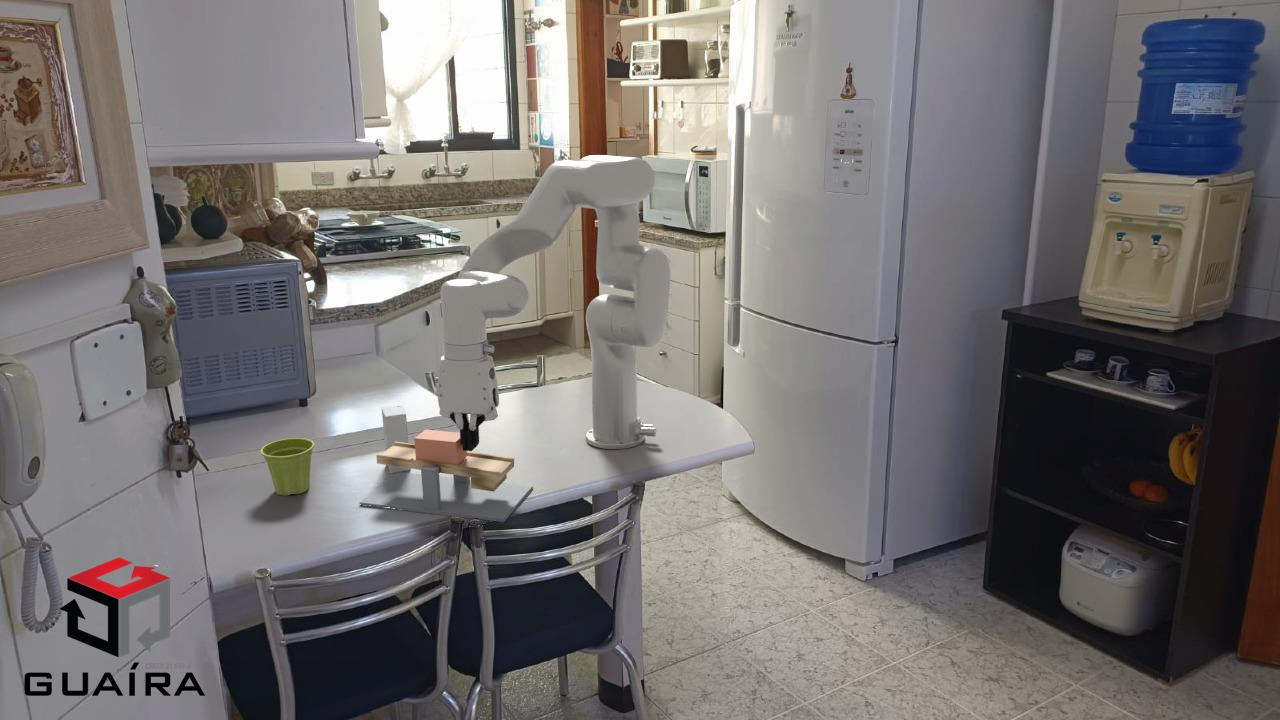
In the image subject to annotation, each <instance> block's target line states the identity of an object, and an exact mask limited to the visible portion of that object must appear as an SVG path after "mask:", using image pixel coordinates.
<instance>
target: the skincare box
mask: <svg viewBox="0 0 1280 720" xmlns="http://www.w3.org/2000/svg"><path fill="white" fill-rule="evenodd" d="M381 415H382V416H381V417H382V427H383V437H384V438H383V439H384V448H385V449H384V452H385V451H386V450H387V449H389V448H390V447H392V446H393V445H394V442H395V441H396V442H404V443H409V433H408V421H407V414H406V410H405V408H404V406H403V405H402V404H399V405H389V406H382V407H381ZM387 467H388V471H389V473H390V474H394V473H395V474H396V473H397V472H408V471H411V470H412V469H411V468H404V467H398V466H391V465H387Z"/></svg>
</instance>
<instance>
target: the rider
mask: <svg viewBox="0 0 1280 720" xmlns="http://www.w3.org/2000/svg"><path fill="white" fill-rule="evenodd" d="M413 438H414V439H413V440H414V444H415V455H416V459H417V460H424V461H431V462H438V463H445V464H452V465H458V464H459V463H460V462H461V461H462V460H464V459H465V458H466V457H467V450H466V451H463V446H462V444H461V442H460V432H458V431H457V432H456V431H455V432H454V431H444V430H434V429H424V430H423V431H422V432H421V433H418V435H417V436H415V437H413Z"/></svg>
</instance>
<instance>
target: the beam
mask: <svg viewBox="0 0 1280 720" xmlns="http://www.w3.org/2000/svg"><path fill="white" fill-rule="evenodd" d="M376 464H377V465H384V466H388V465H391V466H398V467H404V468H411V470H419V471H421V468H422V467H423V466H432V467H439V474H440V473H441V474H447V475H452V476H453V475H459V476H466V477H470V480H471V488H473V489H479V490H486V491H493V492H494V491H495V490H496V489H497V488H498V487H499V486H500V485H501V484H502V483H505V482H504V481H506V479H508V477H507V476H508V475H507V474H509V472H510V471H511V470H513V468H515V457H509V456H503V455H495V454H490V453H481V452H475V451H467V457H466V458H465V459H464V460H462V461H461V462H460V463H459V464H458V465H452V464H445V463H438V462H431V461H424V460H417V459H416V455H415V443H411V442H408V443H404V442H396V441H395V442H394V445H393V446H392V447H390V448H389V449H387V450H386V451H385V450H384V451H383V452H382V453H377V454H376Z"/></svg>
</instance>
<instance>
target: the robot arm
mask: <svg viewBox="0 0 1280 720" xmlns="http://www.w3.org/2000/svg"><path fill="white" fill-rule="evenodd" d="M654 185H655V173H654V170H653V167H652V166H651V165H650V164H649V163H648V161H647V160H645V159H643V158H640V157H637V156H636V157H634V156H620V155H618V156H617V155H607V154H605V155H604V154H602V155H601V154H595V155H594V154H592V155H587V156H584V157H582V158H581V159H579V160H559V161H555V162H553V163H551V164H550V165H549V166H548V167H547V168H546V170H545V171H544V172H543V174H542V176H541V178H540V179H539V180H538V182H537V184H536V185H535V187H534V188H533V190H532V192H531V193H530V194H529V196H528V198H527V200H526V201H525V203H524V204H523V206H522V208H521V209H520V210H519V212H518V213H517V215H516V217H514V218H513V219H512V221H509V222H508V223H507V224H505V225H504V226H502V227H501V228H499V229H498V230H497V231H495V232H494V233H492V234H491V235H489V236H488V237H487V238H485V239H484V240H483V241H482V242H480V243H479V245H477V247H475V249H474V250H473V251H472V252H471V254H470V255H469V257H468V259H466V261H465V263H464V265H463V266H462V268H461V270H460V272H459V273H458V276H457V278H456V279H455V278H454V279H450V280H447V281H445V282H444V283H442V285H441V286H440V306H441V307H440V310H441V324H442V325H441V328H442V345H443V348H442V349H443V355H442V356H441V358H440V361H439V366H438V367H439V368H438V375H437V376H438V377H437V403H438V406H439V411H438V412H439V415H440V416H441V417H445V418H447V419H451V421H452V422H453V423H454V424H455V425H456V428H457V429H458V430H459V433H460V442H461V444H462V446H463V451H466V450H468V452H473V451H474V450H475V449H476V448H477V447H478V446H479V444H480V426H481V425H482V424H483V423H484V422H489V421H494V420H496V419H498V417H499V414H498V410H497V408H498V407H499V405H500V394H499V384H498V383H499V382H498V377H497V371H496V367H495V363H494V359H493V356H491V355H489V354H494V353H495V345H491V344H489V339H487V336H488V335H487V320H488V319H498V318H499V319H502V318H510V317H514V316H516V315H519V314H520V313H521V312H522V311H523V310H524V309H525V308H526V306H527V304H528V301H529V289H528V287H527V285H526V284H525V283H524V282H523V280H521V279H519V278H518V277H516V276H513V275H510V274H505V273H501V271H502V270H504V269H505V267H507V266H508V265H510V264H511V263H513V262H514V261H516V260H519V259H521V258H524V257H527V256H530V255H533V254H536V253H539V252H540V253H541V252H542V251H544V250H547V249H549V248H551V247H553V246H554V245H555V244H556V242H557V240H558V239H559V236H561V234H562V233H563V231H564V229H565V227H566V225H567V224H568V222H569V221H570V219H571V217H572V216H573V214H574V213H575V211H576V210H577V209H578V208H584V209H591V210H592V209H594V210H595V213H596V217H597V241H596V242H597V244H596V263H595V264H596V265H595V267H596V269H595V270H596V271H595V272H596V278H597V280H598V282H599V283H600V284H601V285H603V286H605V287H607V288H611V289H616V290H622V291H627V292H632V293H634V297H632V296H631V297H630V296H626V295H625V296H624V295H618V294H614V293H613V294H610V293H609V294H608V293H607V294H605V293H604V294H601V295H598V296H596V297H594V298H593V299H592V300H591V301H590V303H589V304H588V306H587V307H586V311H585V312H586V313H585V323H586V330H587V334H588V339H589V344H590V345H589V346H590V354H591V402H592V404H591V405H592V407H591V408H592V410H591V411H592V413H591V414H592V428H590V429H588V431H587V432H585V441H586V442H587V443H588V444H589V445H591V446H593V447H596V448H600V449H606V450H622V449H629V448H634V447H636V446H638V445H640V444H641V443H643V441H644V440H645V436H646V437H651V438H656V436H657V427H654V424H649V423H647V424H644V423H643V422H641V421H642V418H641V416H638V390H637V389H638V383H637V382H638V380H637V378H638V373H637V372H638V367H637V366H638V364H637V363H638V362H637V360H638V359H637V355H636V352H635V349H634V347H640V348H645V349H646V348H653V347H655V346H657V345H659V343H660V342H661V341H662V340H663V338H664V335H665V333H666V329H667V325H668V315H669V300H670V290H671V289H670V287H671V268H670V262H669V260H668V257H667V255H666V254H665V253H664V252H663V251H662V249H659V248H657V247H656V246H655V247H654V246H650V245H643V244H640V227H641V226H640V215H639V210H638V208H637V206H636V204H638V203H640V202H642V201H644V200H645V199H647V198H648V197H649V195H650V194H651V193H652V190H653V187H654ZM469 416H470V417H469Z"/></svg>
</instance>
